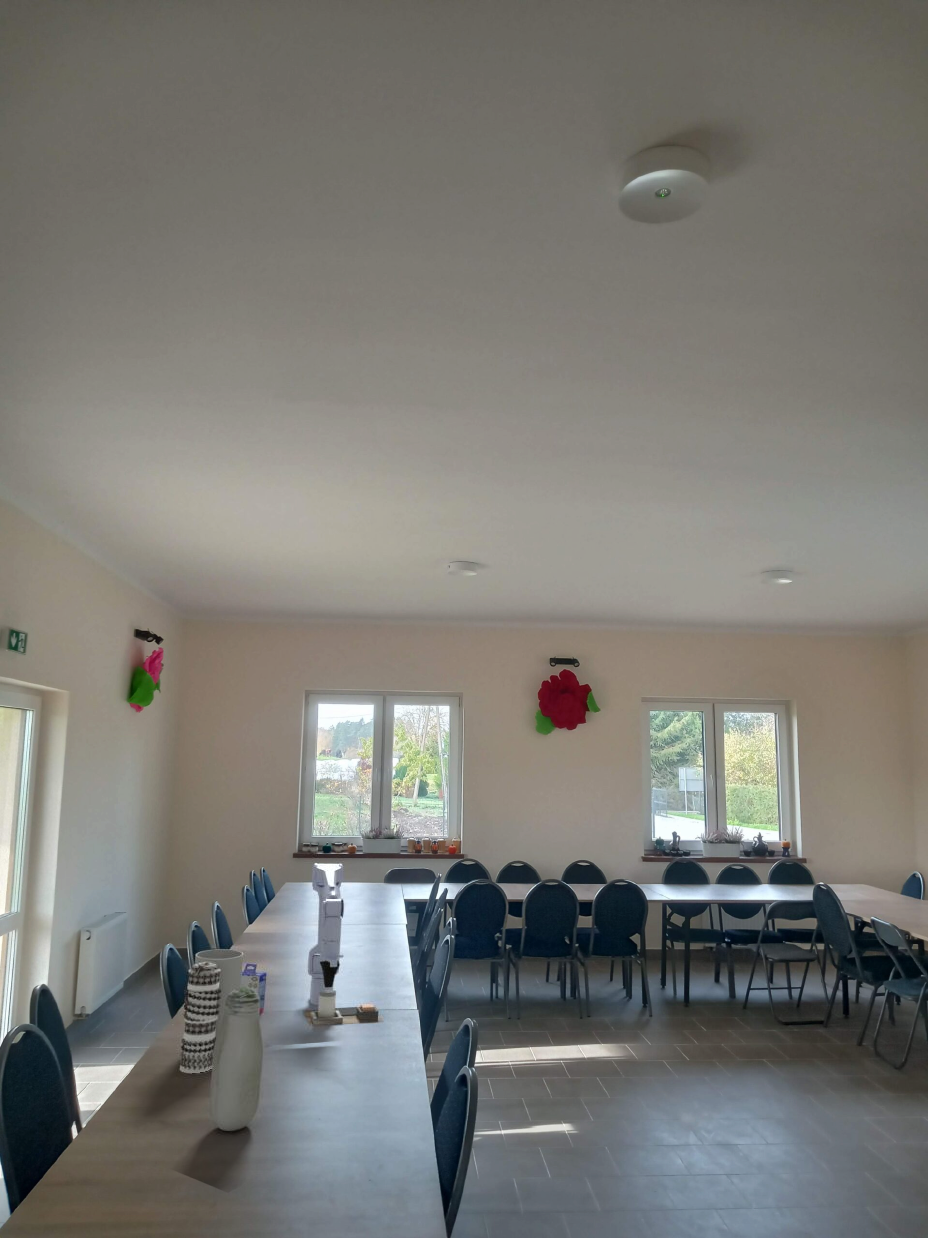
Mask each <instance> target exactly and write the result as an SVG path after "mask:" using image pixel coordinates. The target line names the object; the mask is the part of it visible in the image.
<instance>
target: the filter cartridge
mask: <svg viewBox="0 0 928 1238" xmlns="http://www.w3.org/2000/svg"><path fill="white" fill-rule="evenodd" d="M336 997H337V991H336V990H334V989H333V990H321V991H320V992H319V1005H318V1008H317V1010H318V1018H333V1017H335V1008H336V1000H337V998H336Z"/></svg>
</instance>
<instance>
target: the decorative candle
mask: <svg viewBox="0 0 928 1238" xmlns="http://www.w3.org/2000/svg"><path fill="white" fill-rule="evenodd" d="M220 971H221V969H220V968H218V966H217V964H216V963H213V962H199V963H196V964H195V963H194V964H192V967H191V968H190V969H188V972H189V976H188V982H187V987H185V990H183V993H184V995H185V997H184V1005H183V1009H184V1013H183V1021H184V1023H185V1024H184V1030H183V1038H182V1039H181V1043H182V1045H181V1047H180V1048H181V1052H180V1060H179V1071H180V1072H182V1073H184V1074H192V1073H196V1074H201V1073H200V1072H204V1073H206V1072H205V1071H208V1070H210V1069H212V1062H213V1051H214V1045H215V1043H214V1042H215V1041H216V1037H215V1032H216V1029H215V1023H216V1020H217V1019H218V1015H217V1014H218V1013H219V1011H218V1010H216V1009H217V1008H218V1007H219V1006H220V1005H219V1004H218V1003H217V1000H219V999H220V998H221V997H220V996H219V995H218V994H219V993H221V989H218V988H219V972H220ZM210 1071H211V1070H210ZM208 1072H209V1071H208ZM192 1075H193V1074H192Z"/></svg>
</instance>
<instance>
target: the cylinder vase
mask: <svg viewBox="0 0 928 1238" xmlns="http://www.w3.org/2000/svg"><path fill="white" fill-rule="evenodd" d="M194 959H195V960H194V964H196V963H199V962H213V963H216V964H217V966H218V968H220V969H221V971H220V972H219V988H218V989H221V993H219V994H218V995H219V996H220V997H221V998H220V999H219V1000H217V1003H218V1004H219V1005H220V1006H219V1007H218V1008H217V1009H216V1010H218V1011H219V1013H218V1014H217V1015H218V1019H217V1020H216V1023H215V1029H216V1032H215V1037H216V1038H217V1035H218V1032H219V1030H220V1027H221V1023H222V1019H223V1015H224V1012H225V1001H226V999H227V997H228V995H229V994H230V993H231V992H232V991H233V990H235V989H238V988H241V979H242V971H243V964H244V963H243V962H244V952H242V951H239V950H236V949H226V948H225V949H223V948H220V949H219V948H218V949H209V950H208V949H207V950H202V951H199V952H197V953H195V958H194ZM215 1042H216V1041H215ZM215 1042H214V1043H215Z"/></svg>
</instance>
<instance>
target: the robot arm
mask: <svg viewBox="0 0 928 1238" xmlns="http://www.w3.org/2000/svg"><path fill="white" fill-rule="evenodd" d="M343 874H344V866H343V864H342V863H314V864H313V865H312V876H311V877H312V879H311V880H312V881H311V882H312V883H311V885H312V890H313V891H315V892H316V893H317V896H318V923H317V943H316V944H315V945H313V946H312V947H311V948H310V950H309V951H308V960H307V961H308V962H307V974H308V975H309V976H311V979H310V990H309V991H310V992H309V1003H310V1004H312V1005H315V1006H319V992H320V991H321V990H334V986H335V985H334V983H335V978H336V975H338V973H339V970H340V965H341V964H340V958H344V954H343V953H341V939H342V938H341V935H342V919H343V918H344V914H345V913H344V912H345V902H344V898H343V897H342V896H341V888H340V887H341V886H342V882H343V878H344V875H343Z"/></svg>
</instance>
